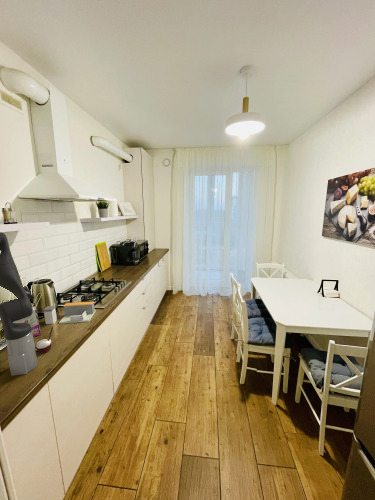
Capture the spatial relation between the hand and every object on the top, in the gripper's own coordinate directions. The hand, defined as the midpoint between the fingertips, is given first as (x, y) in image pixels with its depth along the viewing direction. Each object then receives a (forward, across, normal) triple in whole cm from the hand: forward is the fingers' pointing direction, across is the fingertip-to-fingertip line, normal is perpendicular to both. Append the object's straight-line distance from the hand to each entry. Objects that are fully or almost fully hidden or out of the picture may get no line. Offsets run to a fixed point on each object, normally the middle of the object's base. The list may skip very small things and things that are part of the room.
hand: (29, 301), depth 128 cm
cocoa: (+26, -29, -4) cm, 39 cm away
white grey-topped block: (+18, 0, +3) cm, 18 cm away
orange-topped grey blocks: (+29, +4, -8) cm, 30 cm away
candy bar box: (+15, -15, +7) cm, 22 cm away
